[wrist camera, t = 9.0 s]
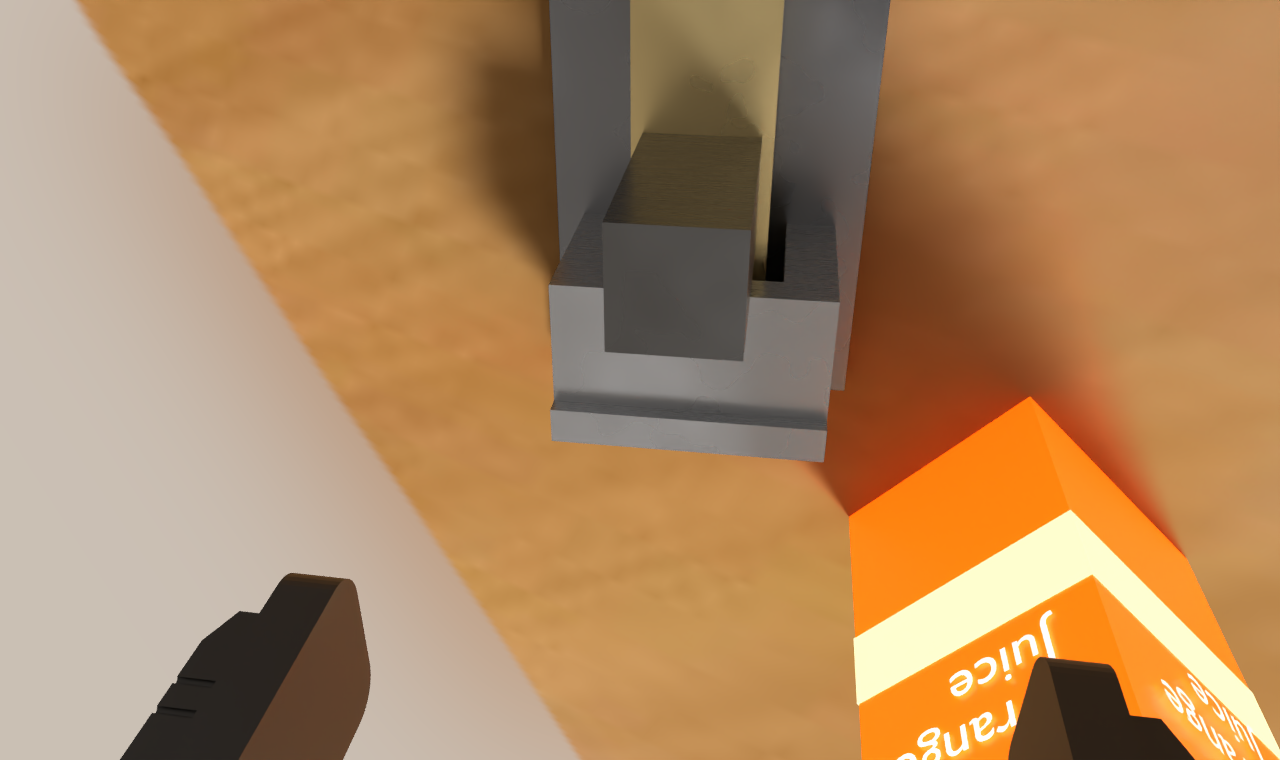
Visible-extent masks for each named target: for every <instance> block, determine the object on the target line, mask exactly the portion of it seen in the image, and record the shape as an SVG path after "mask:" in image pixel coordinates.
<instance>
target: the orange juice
mask: <svg viewBox="0 0 1280 760" xmlns="http://www.w3.org/2000/svg"><path fill="white" fill-rule="evenodd" d="M849 527H850V546H851V564H852V583H853V601H854V619H855V638H854V654H855V673H856V692H857V704H858V705H859V711H860V730H861V748H862V760H1008V755H1009V749H1010V744H1011V740H1012V737H1013V734H1014V730H1015V727H1016V723H1017V720H1018V716H1019V713H1020V710H1021V706H1022V703H1023V699H1024V696H1025V692H1026V689H1027V685H1028V682H1029V679H1030V675H1031V672H1032V668H1033V666H1034V663H1035V661H1036V660H1037V658H1039V657H1049V658H1058V659H1067V660H1076V661H1086V662H1095V663H1104V664H1109V665H1111V666H1112V668H1113V669H1114V670H1115V672H1116V674H1117V677H1118V680H1119V683H1120V686H1121V689H1122V692H1123V695H1124V698H1125V701H1126V704H1127V707H1128V710H1129V713H1130V715H1133V716H1142V717H1151V718H1159V719H1162V720H1163V722H1164V723H1165V724H1166V725H1167V726H1168V728H1169V729H1170V730H1171V731H1172V732H1173V734H1174V735H1175V736H1176V737H1177V738H1178V740H1179V741H1180V742H1181V743H1182V744H1183V745H1184V747H1185V748H1186V749H1187V750H1188V751H1189V753H1190V754H1191V755H1192V756H1193V757H1194V759H1195V760H1280V750H1279V747H1278V745H1277V743H1276V741H1275V739H1274V737H1273V735H1272V733H1271V731H1270V729H1269V727H1268V725H1267V722H1266V720H1265V718H1264V716H1263V714H1262V712H1261V710H1260V708H1259V706H1258V704H1257V702H1256V699H1255V697H1254V695H1253V693H1252V692H1251V691H1250V690H1249V689H1248V687H1247V685H1246V682H1245V680H1244V678H1243V676H1242V674H1241V672H1240V670H1239V668H1238V666H1237V664H1236V661H1235V659H1234V657H1233V655H1232V653H1231V651H1230V649H1229V647H1228V645H1227V643H1226V640H1225V638H1224V636H1223V634H1222V632H1221V630H1220V628H1219V626H1218V624H1217V622H1216V619H1215V617H1214V615H1213V613H1212V611H1211V609H1210V607H1209V605H1208V603H1207V601H1206V598H1205V596H1204V594H1203V592H1202V590H1201V588H1200V586H1199V584H1198V582H1197V580H1196V578H1195V575H1194V573H1193V571H1192V569H1191V567H1190V565H1189V563H1188V561H1187V559H1186V558H1185V557H1184V556H1183V555H1182V554H1181V552H1180V551H1179V550H1178V549H1177V548H1176V547H1175V546H1174V545H1173V544H1172V543H1171V542H1170V541H1169V540H1168V539H1167V538H1166V537H1165V536H1164V535H1163V534H1162V533H1161V532H1160V531H1159V530H1158V529H1157V528H1156V527H1155V526H1154V524H1153V523H1152V522H1151V521H1150V520H1149V519H1148V518H1147V517H1146V516H1145V515H1144V514H1143V513H1142V512H1141V511H1140V510H1139V509H1138V508H1137V507H1136V506H1135V505H1134V504H1133V503H1132V502H1131V501H1130V500H1129V499H1128V498H1127V497H1126V495H1125V494H1124V493H1123V492H1122V491H1121V490H1120V489H1119V488H1118V487H1117V486H1116V485H1115V484H1114V483H1113V482H1112V481H1111V480H1110V479H1109V478H1108V477H1107V476H1106V475H1105V474H1104V473H1103V472H1102V471H1101V470H1100V469H1099V468H1098V466H1097V465H1096V464H1095V463H1094V462H1093V461H1092V460H1091V459H1090V458H1089V457H1088V456H1087V455H1086V454H1085V453H1084V452H1083V451H1082V450H1081V449H1080V448H1079V447H1078V446H1077V445H1076V444H1075V443H1074V442H1073V441H1072V440H1071V438H1070V437H1069V436H1068V435H1067V434H1066V433H1065V432H1064V431H1063V430H1062V429H1061V428H1060V427H1059V426H1058V425H1057V424H1056V423H1055V422H1054V421H1053V420H1052V419H1051V418H1050V417H1049V416H1048V415H1047V414H1046V413H1045V412H1044V411H1043V409H1042V408H1041V407H1040V406H1039V405H1038V404H1037V403H1036V402H1035V401H1034V400H1033V399H1032V398H1031V397H1028V398H1027V399H1025V400H1024V401H1022V402H1021V403H1019V404H1018V405H1016V406H1015V407H1013V408H1012V409H1010V410H1009V411H1007V412H1006V413H1004V414H1003V415H1001V416H1000V417H998V418H997V419H995V420H994V421H992V422H991V423H989V424H988V425H986V426H985V427H983V428H982V429H980V430H979V431H977V432H976V433H974V434H973V435H971V436H970V437H968V438H967V439H965V440H964V441H962V442H961V443H959V444H958V445H956V446H955V447H953V448H952V449H950V450H949V451H947V452H946V453H944V454H943V455H941V456H940V457H938V458H937V459H935V460H934V461H932V462H931V463H929V464H928V465H926V466H925V467H923V468H922V469H920V470H919V471H917V472H916V473H914V474H913V475H911V476H910V477H908V478H907V479H905V480H904V481H902V482H901V483H899V484H898V485H896V486H895V487H893V488H892V489H890V490H889V491H887V492H886V493H884V494H883V495H881V496H880V497H878V498H877V499H875V500H874V501H872V502H871V503H869V504H868V505H866V506H865V507H863V508H862V509H860V510H859V511H857V512H856V513H854V514H853V515H851V516H850V517H849Z"/></svg>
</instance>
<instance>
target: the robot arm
mask: <svg viewBox="0 0 1280 760" xmlns="http://www.w3.org/2000/svg"><path fill="white" fill-rule="evenodd" d="M370 676H371V674H370V663H369V657H368V651H367V646H366V640H365V634H364V629H363V623H362V617H361V612H360V606H359V600H358V595H357V590H356V587H355V584H354V583H353V581H352V580H350V579H343V578H334V577H325V576H316V575H307V574H297V573H290V574H288V575H286V576H285V577H284V578H283V579H282V580H281V581H280V582H279V584H278V585H277V587H276V588H275V590H274V591H273V593H272V595H271V596H270V598H269V599H268V601H267V603H266V604H265V605H264V607H263V609H262V610H261V612H260V613H251V612H241V611H239V612H238V613H237V614H235V615H234V616H233V617H232V618H230V619H229V620H228V621H226V622H225V623H224V624H223V625H221V626H220V627H219V628H217V629H216V630H215V631H214V632H212V633H211V634H210V635H208V636H207V637H206V638H205V639H203V640H202V641H201V643H200V644H199V646H198V647H197V648H196V650H195V651H194V653H193V654H192V656H191V657H190V659H189V660H188V662H187V663H186V664H185V666H184V667H183V669H182V670H181V672H180V673H179V675H178V676H177V677H178V679H177V682H176V684H174V683H172V685H171V686H170V688H169V689H168V691H167V692H166V694H165V695H164V696H163V698H162V699H161V701H160V702H159V704H158V705H157V711H156V713H152V714H151V715H150V717H149V718H148V720H147V721H146V723H145V724H144V726H143V727H142V729H141V730H140V732H139V733H138V734H137V736H136V737H135V739H134V740H133V742H132V743H131V744H130V746H129V747H128V749H127V750H126V752H125V753H124V755H123V756H122V758H121V759H120V760H343V758H344V756H345V754H346V752H347V750H348V748H349V745H350V743H351V741H352V739H353V737H354V735H355V733H356V730H357V728H358V726H359V724H360V722H361V719H362V717H363V714H364V711H365V708H366V704H367V700H368V695H369V689H370ZM1008 760H1195V759H1194V757H1193V756H1192V755H1191V754H1190V753H1189V751H1188V750H1187V749H1186V748H1185V747H1184V745H1183V744H1182V743H1181V742H1180V741H1179V740H1178V738H1177V737H1176V736H1175V735H1174V734H1173V732H1172V731H1171V730H1170V729H1169V728H1168V726H1167V725H1166V724H1165V723H1164V722H1163V720H1162V719H1159V718H1151V717H1142V716H1133V715H1130V713H1129V710H1128V707H1127V704H1126V701H1125V698H1124V695H1123V692H1122V689H1121V686H1120V683H1119V680H1118V677H1117V674H1116V672H1115V670H1114V669H1113V668H1112V666H1111V665H1109V664H1104V663H1095V662H1086V661H1076V660H1067V659H1058V658H1049V657H1039V658H1037V660H1036V661H1035V663H1034V666H1033V668H1032V672H1031V675H1030V679H1029V682H1028V685H1027V689H1026V692H1025V696H1024V699H1023V703H1022V706H1021V710H1020V713H1019V716H1018V720H1017V723H1016V727H1015V730H1014V734H1013V737H1012V740H1011V744H1010V749H1009V755H1008Z"/></svg>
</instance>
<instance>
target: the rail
mask: <svg viewBox="0 0 1280 760" xmlns="http://www.w3.org/2000/svg"><path fill="white" fill-rule="evenodd" d="M889 7H890V0H785V4H784V19H783V33H782V48H781V63H780V77H779V92H778V106H777V121H776V135H775V150H774V165H773V179H772V194H771V208H770V223H769V237H768V252H767V267H766V281H755V280H752V286H751V295H750V304H749V314H748V323H747V332H746V341H745V350H744V359H743V362H742V361H728V360H713V359H699V358H684V357H670V356H655V355H640V354H626V353H611V352H605V346H604V293H603V241H602V222H603V219H604V217H605V215H606V213H607V210H608V208H609V206H610V204H611V202H612V199H613V197H614V195H615V193H616V190H617V188H618V186H619V184H620V182H621V179H622V177H623V175H624V173H625V170H626V168H627V166H628V164H629V162H630V159H631V77H630V0H549V9H550V33H551V57H552V81H553V104H554V128H555V152H556V176H557V200H558V224H559V247H560V263H559V265H558V267H557V269H556V271H555V273H554V275H553V277H552V279H551V281H550V283H549V303H550V324H551V344H552V365H553V385H554V402H553V405H552V407H551V410H550V412H551V432H552V441H562V442H575V443H587V444H600V445H612V446H625V447H637V448H650V449H663V450H675V451H688V452H700V453H713V454H726V455H738V456H751V457H763V458H776V459H788V460H801V461H814V462H824V455H825V446H826V437H827V415H828V406H829V397H830V390H842V391H844V388H845V380H846V371H847V363H848V354H849V346H850V337H851V329H852V321H853V312H854V304H855V295H856V287H857V278H858V270H859V261H860V253H861V244H862V236H863V227H864V219H865V210H866V202H867V194H868V185H869V177H870V168H871V160H872V151H873V143H874V134H875V126H876V117H877V109H878V100H879V92H880V84H881V75H882V67H883V58H884V50H885V41H886V33H887V24H888V16H889Z"/></svg>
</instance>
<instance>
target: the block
mask: <svg viewBox="0 0 1280 760" xmlns="http://www.w3.org/2000/svg"><path fill="white" fill-rule="evenodd" d="M784 4H785V0H630V77H631V159H630V162H629V164H628V166H627V168H626V170H625V173H624V175H623V177H622V179H621V182H620V184H619V186H618V188H617V190H616V193H615V195H614V197H613V199H612V202H611V204H610V206H609V208H608V210H607V213H606V215H605V217H604V219H603V222H602V241H603V293H604V346H605V352H611V353H626V354H640V355H655V356H670V357H684V358H699V359H713V360H728V361H742V362H743V359H744V350H745V341H746V332H747V323H748V314H749V304H750V295H751V286H752V280H755V281H766V267H767V252H768V237H769V223H770V208H771V194H772V179H773V165H774V150H775V135H776V121H777V106H778V92H779V77H780V63H781V48H782V33H783V19H784Z"/></svg>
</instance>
